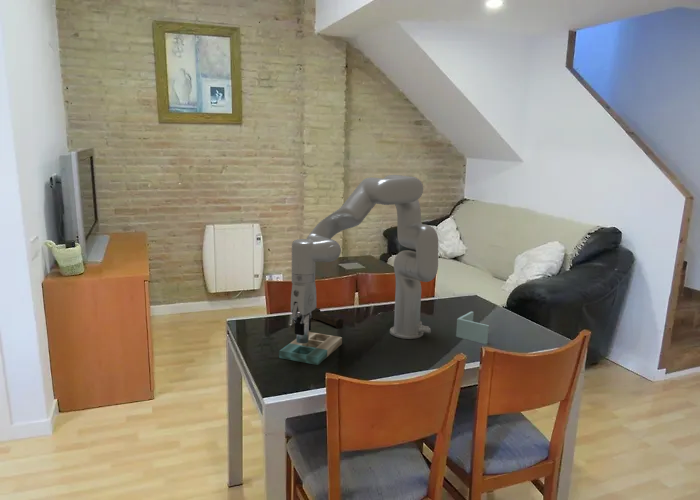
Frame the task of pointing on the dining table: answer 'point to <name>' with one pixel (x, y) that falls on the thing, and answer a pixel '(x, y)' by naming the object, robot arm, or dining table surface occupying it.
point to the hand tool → (327, 318)
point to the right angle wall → (472, 329)
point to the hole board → (311, 348)
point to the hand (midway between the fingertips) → (302, 331)
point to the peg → (304, 337)
